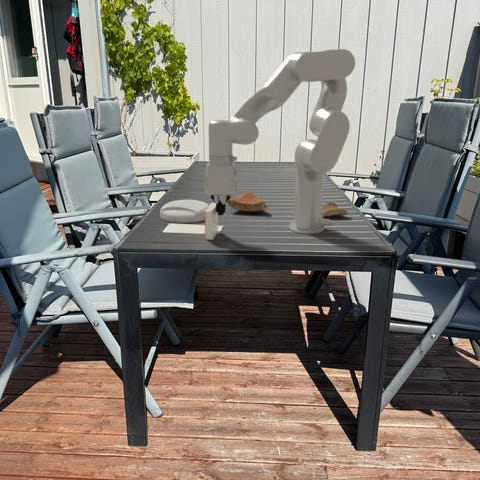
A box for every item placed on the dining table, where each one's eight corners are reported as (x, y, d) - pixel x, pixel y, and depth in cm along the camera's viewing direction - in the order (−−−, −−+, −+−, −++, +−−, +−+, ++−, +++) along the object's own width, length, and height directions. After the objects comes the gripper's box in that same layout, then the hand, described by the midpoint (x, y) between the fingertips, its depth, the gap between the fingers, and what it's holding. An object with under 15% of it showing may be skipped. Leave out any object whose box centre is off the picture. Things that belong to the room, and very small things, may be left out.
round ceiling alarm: (229, 216, 186) (229, 202, 184) (195, 235, 165) (194, 219, 163) (179, 207, 197) (178, 193, 195) (141, 224, 176) (140, 208, 174)
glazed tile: (218, 230, 161) (217, 203, 157) (212, 240, 152) (212, 211, 148) (211, 230, 161) (210, 202, 158) (205, 240, 152) (204, 211, 148)
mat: (223, 227, 166) (223, 226, 166) (212, 248, 147) (212, 246, 147) (169, 225, 168) (169, 223, 168) (152, 244, 150) (152, 243, 149)
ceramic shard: (275, 207, 191) (244, 196, 197) (276, 193, 188) (245, 183, 194) (258, 222, 181) (226, 211, 187) (259, 208, 177) (226, 197, 183)
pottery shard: (349, 218, 180) (338, 205, 188) (350, 209, 177) (340, 196, 185) (323, 222, 178) (314, 209, 186) (324, 212, 175) (315, 199, 183)
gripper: (245, 158, 149) (244, 212, 156) (200, 157, 151) (201, 210, 158) (242, 163, 142) (241, 219, 149) (195, 161, 144) (196, 216, 151)
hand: (220, 214), depth 153 cm, fingers closed
